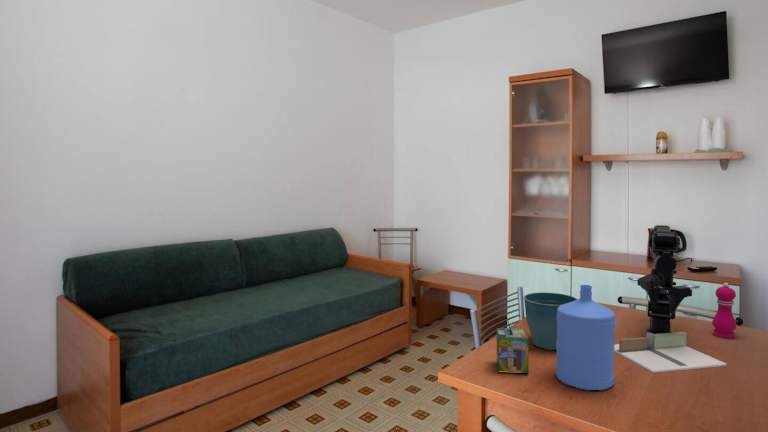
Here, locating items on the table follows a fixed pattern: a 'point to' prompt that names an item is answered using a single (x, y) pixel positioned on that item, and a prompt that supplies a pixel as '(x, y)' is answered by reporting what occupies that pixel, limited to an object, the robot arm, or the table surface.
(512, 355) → the chalk box
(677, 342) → the hinged panel
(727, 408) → the table surface
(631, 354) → the card
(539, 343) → the flower pot
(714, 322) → the pepper mill
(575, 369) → the water jug
